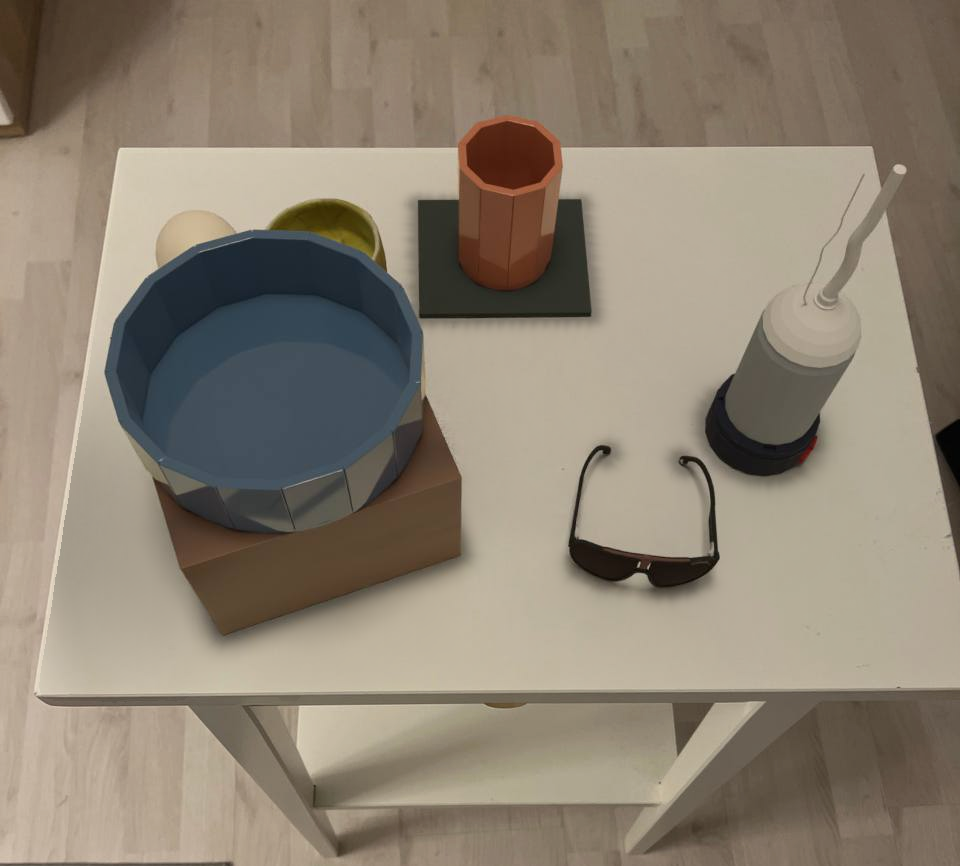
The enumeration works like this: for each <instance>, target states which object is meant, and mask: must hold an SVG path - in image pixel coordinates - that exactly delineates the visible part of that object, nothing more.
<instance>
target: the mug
mask: <svg viewBox="0 0 960 866" xmlns="http://www.w3.org/2000/svg"><path fill="white" fill-rule="evenodd" d="M376 223H377V222H375V221H374V219H373V217H372V215H371V214H370V213H369V212H368V211H367V210H366V209H364V208H363V207H361V206H359V205H357V204H355V203H353V202H351V201H348V200H344V199H340V198H333V197H331V198H326V197H324V198H322V197H321V198H320V197H319V198H318V197H317V198H312V199H308V200H304V201H301V202H298V203H296V204H293V205H291V206H289V207H287V208H285V209H283V210H282V211H280V212H279V213H278V214H276V216H275V217H274V218H273V219H272V220H271V221H270V222H268V225H267V226H265V229H264V230H281V231H308V232H310V233H311V232H313V233H315V234H318V235H321V236H323V237H326V238H329V239H331V240H334V241H337V242H339V243H342V244H345V245H347V246H350V247H353V248H355V249H358V250H361V251H362V252H364V253H366V254H367V255H368V256H369V257H370V258H371V259H372V260H374V261H375V262H376V263H377V264H378V265H379V266H380V267H381V268H383V269H384V270H385V271H386V272H387V273H388V266H387V258H386V252H385V249H384V245H383V241H382V236H381V234H380V231H379V226H378V225H377V224H376Z"/></svg>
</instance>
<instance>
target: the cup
mask: <svg viewBox="0 0 960 866" xmlns="http://www.w3.org/2000/svg"><path fill="white" fill-rule="evenodd" d="M563 164H564V163H563V154H562V146H561V141H560V139H559V138H558V137H556V135H554V134H553V133H552V132H551V131H550V130H549V129H547V128H546V126H544V124H542V123H541V122H540V121H537V120H534V119H533V120H532V119H528V118H523V117H519V116H515V115H511V114H504V115H501V116H500V115H499V116H496V117H492V118H489V119H485V120H481V121H478V122H476V123H475V124H474V125H472V126H471V128H470V129H469V130H468V131H467V133H465V135H464V136H463V137H462V138H461V139H460V140H459V141H458V143H457V200H458V231H457V239H458V258H459V262H460V265H461V267H462V269H463V270H464V272H465V273H466V274H467V275H468V276H469V277H470V278H471V279H472V280H473V281H475V282H476V283H478V284H480V285H482V286H484V287H487V288H490V289H494V290H502V291H508V290H516V289H520V288H523V287H526V286H528V285H530V284H532V283H533V282H535V281H536V280H537V279H538V278H540V276H541V275H542V274H543V273H544V271H545V270H546V268H547V265H548V262H549V261H550V259H551V253H552V246H553V238H554V230H555V223H556V215H557V207H558V200H559V199H560V191H561V185H562V184H561V183H562V177H563V176H562V175H563V168H564V165H563Z"/></svg>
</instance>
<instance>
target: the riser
mask: <svg viewBox="0 0 960 866" xmlns="http://www.w3.org/2000/svg"><path fill="white" fill-rule="evenodd" d="M109 339H110V340H111V336H110V337H109ZM110 340H109V341H110ZM450 449H451V448H450V447H449V445H448V442H447V440H446V438H445V435H444V433H443V431H442V429H441V426H440V423H439V421H438V419H437V417H436V415H435V412H434V410H433V408H432V405H431V403H430V401H429V398H428V395H427V394H426V393H425V412H424V427H423V432H422V434H421V436H420V438H419V440H418V443H417V445H416V447H415V450H414V452H413V454H412V456H411V458H410V460H409V461H408V463H407V464H406V466H405V467H404V469H403V471H402V472H401V473H400V474H399V476H398V477H397V478H396V479H395V480H394V481H393V483H392V484H391V485H390V486H389V487H388V488H387V489H386V490H385V491H383V492H382V493H381V494H380V495H379V496H378V497H377V498H376V499H374V500H373V501H371V502H370V503H368V504H367V505H366V506H364V507H363V508H361V509H360V510H358V511H356V512H354V513H352V514H350V515H348V516H346V517H345V518H342V519H340V520H337V521H335V522H332V523H329V524H327V525H324V526H320V527H316V528H312V529H309V530H303V531H296V532H289V533H256V532H246V531H242V530H237V529H232V528H228V527H225V526H222V525H219V524H216V523H213V522H210V521H208V520H206V519H204V518H202V517H200V516H198V515H196V514H194V513H192V512H191V511H189V510H188V509H186V508H183V507H182V506H180V505H179V504H178V503H177V502H176V501H175V500H174V499H173V498H172V497H171V496H170V495H169V494H168V493H167V492H166V491H165V490H164V489H163V488H162V487H161V485H160V484H159V483H158V482H157V481H156V479H155V478H154V477H153V476H152V475H151V477H152V480H153V485H154V487H155V490H156V494H157V498H158V501H159V504H160V507H161V511H162V514H163V517H164V521H165V523H166V528H167V530H168V533H169V536H170V540H171V543H172V546H173V550H174V553H175V556H176V560H177V563H178V566H179V569H180V571H181V573H182V574H183V575H184V577H185V579H186V581H187V582H188V584H189V586H190V587H191V588H192V590H193V592H194V593H195V595H196V596H197V598H198V599H199V601H200V603H201V604H202V606H203V608H204V609H205V611H206V612H207V615H208V616H209V617H210V619H211V620H212V622H213V623H214V625H215V627H216V628H217V629H218V631H219V633H220V634H221V636H225V635H227V634H231V633H234V632H237V631H240V630H243V629H245V628H249V627H251V626H254V625H257V624H261V623H263V622H267V621H269V620H272V619H275V618H278V617H282V616H283V615H287V614H290V613H293V612H296V611H299V610H302V609H306V608H308V607H310V606H314V605H317V604H320V603H323V602H326V601H329V600H331V599H335V598H337V597H340V596H345V595H347V594H349V593H353V592H355V591H358V590H362V589H364V588H367V587H370V586H373V585H377V584H379V583H382V582H385V581H388V580H391V579H395V578H397V577H400V576H403V575H406V574H409V573H412V572H415V571H418V570H420V569H424V568H426V567H429V566H432V565H435V564H439V563H442V562H444V561H445V562H446V561H448V560H450V559H453V558H457V557H459V556H461V555H462V554H461V553H462V493H463V477H462V474H461V472H460V470H459V468H458V466H457V463H456V460H455V458H454V456H453V454H452V452H451V450H450Z"/></svg>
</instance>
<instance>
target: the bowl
mask: <svg viewBox="0 0 960 866" xmlns="http://www.w3.org/2000/svg"><path fill="white" fill-rule="evenodd" d="M236 233H237V234H233V235H230V236H226V237H222V238H219V239H215V240H211V241H207V242H204V243H200V244H196V245H195V246H192V247H191V248H189V249H188V250H186V251H185V252H183V253H182V254H180V255H179V256H177V257H176V258H174V259H173V260H171V261H170V262H168V263H167V264H165V265H164V266H162V267H161V268H159V269H158V268H157V269H155V271H153V272H151V273H149V274H148V275H147V276H146V277H145V278H144V279H143V281H142V282H141V283H140V285H139V286H138V287H137V289H136V290H135V292H134V293H133V295H132V296H131V297H130V299H129V300H128V302H127V303H126V304H125V305H124V307H123V308H122V310H121V311H120V312H119V313H118V314H117V317H116V318H115V319H114V322H113V325H112V331H111V334H110V337H111V340H109V346H108V350H107V357H106V360H105V365H104V370H103V373H104V377H105V381H106V385H107V388H108V392H109V395H110V398H111V401H112V404H113V407H114V408H113V409H114V412H115V414H116V418H117V421H118V422H117V423H119V425H120V427H121V429H122V430H123V432H124V434H125V436H126V437H127V439H128V441H129V443H130V444H131V446H132V448H133V449H134V451H135V453H136V455H137V456H138V459H139V460H140V462H141V463H142V465H143V467H144V469H145V470H146V471H147V472H148V473H149V475H150V476H151V477H152V476H153V477H154V478H155V479H156V481H157V482H158V483H159V484H160V485H161V487H162V488H163V489H164V490H165V491H166V492H167V493H168V494H169V495H170V496H171V497H172V498H173V499H174V500H175V501H176V502H177V503H178V504H179V505H180V506H182V507H183V508H186V509H188V510H189V511H191V512H192V513H194V514H196V515H198V516H200V517H202V518H204V519H206V520H208V521H210V522H213V523H216V524H219V525H222V526H225V527H228V528H232V529H237V530H242V531H246V532H256V533H289V532H296V531H303V530H309V529H312V528H316V527H320V526H324V525H327V524H329V523H332V522H335V521H337V520H340V519H342V518H345V517H346V516H348V515H350V514H352V513H354V512H356V511H358V510H360V509H361V508H363V507H364V506H366V505H367V504H368V503H370V502H371V501H373V500H374V499H376V498H377V497H378V496H379V495H380V494H381V493H382V492H383V491H385V490H386V489H387V488H388V487H389V486H390V485H391V484H392V483H393V481H394V480H395V479H396V478H397V477H398V476H399V474H400V473H401V472H402V471H403V469H404V467H405V466H406V464H407V463H408V461H409V460H410V458H411V456H412V454H413V452H414V450H415V447H416V445H417V443H418V440H419V438H420V436H421V434H422V432H423V427H424V412H425V394H426V385H427V383H426V382H427V381H426V380H427V379H426V361H425V360H426V358H425V357H426V356H425V337H424V336H425V335H424V331H423V329H422V326H421V324H420V322H419V319H418V317H417V315H416V312H415V310H414V309H413V306H412V304H411V302H410V299H409V296H408V294H407V292H406V291H405V288H404V286H403V285H402V284H401V283H400V282H398V280H396V279H395V277H393V276H392V275H391V274H389V272H388V271H387V272H386V271H385V270H384V269H383V268H381V267H380V266H379V265H378V264H377V263H376V262H375V261H374V260H372V259H371V258H370V257H369V256H368V255H367V254H366V253H364V252H362V251H361V250H358V249H355V248H353V247H350V246H347V245H345V244H342V243H339V242H337V241H334V240H331V239H329V238H326V237H323V236H321V235H318V234H315V233H313V232H311V233H310V232H308V231H281V230H265V229H256V228H255V229H248V230H244V231H241V232H236Z"/></svg>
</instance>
